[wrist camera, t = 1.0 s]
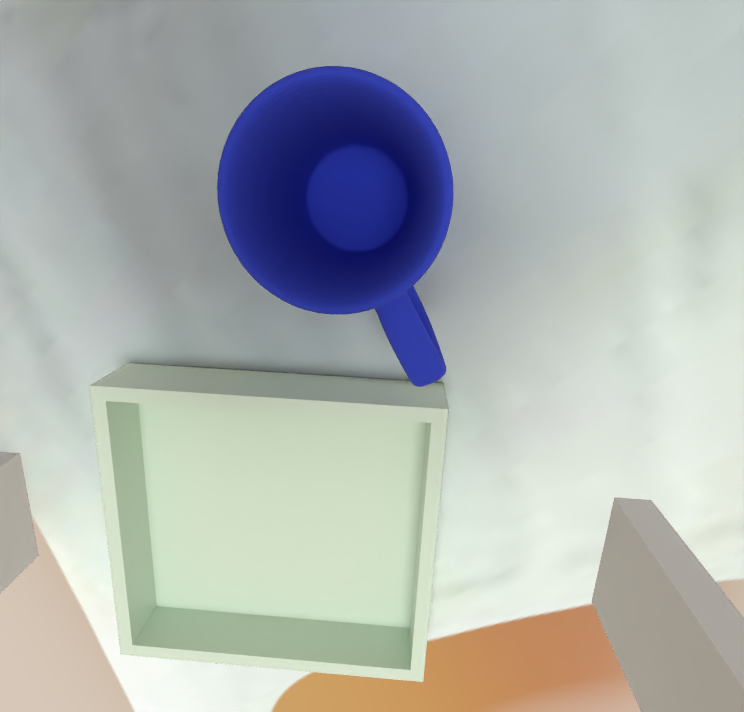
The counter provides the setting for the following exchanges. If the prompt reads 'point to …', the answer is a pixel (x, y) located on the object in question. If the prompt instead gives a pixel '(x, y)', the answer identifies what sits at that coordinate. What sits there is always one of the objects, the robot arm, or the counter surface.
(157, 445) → the tray
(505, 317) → the counter surface
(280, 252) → the mug
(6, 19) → the counter surface
